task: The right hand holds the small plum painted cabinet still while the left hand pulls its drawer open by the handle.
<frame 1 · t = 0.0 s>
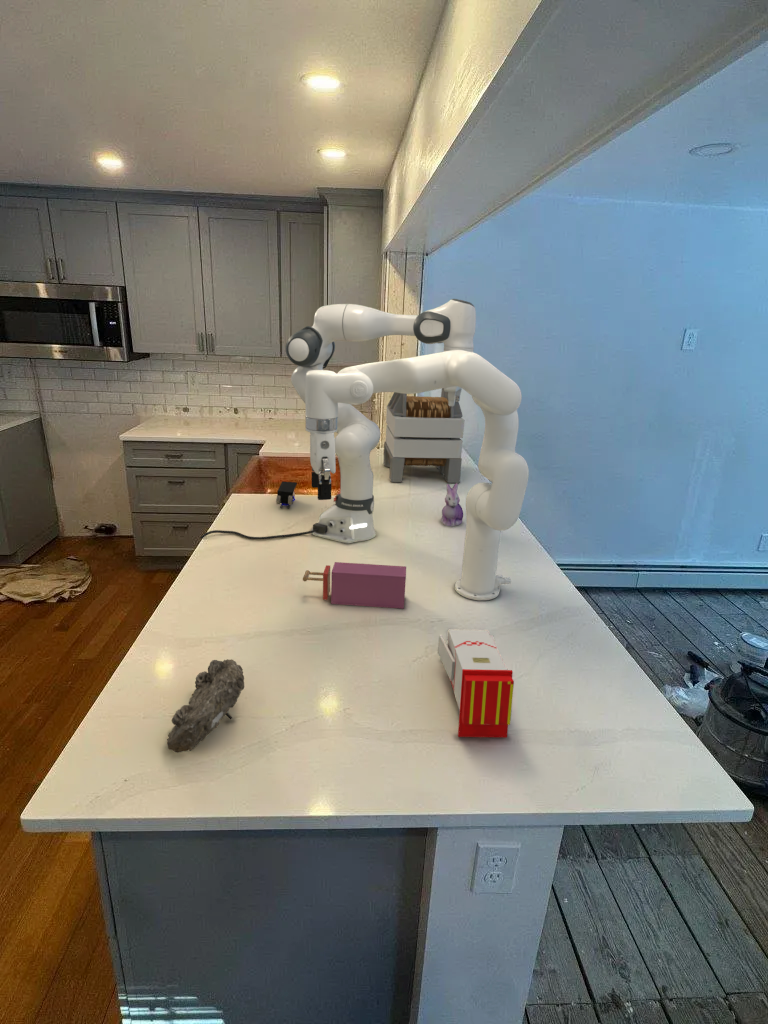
left hand: (454, 403, 174), 48 cm above the counter, tool pointing down, fingers open, 8 cm apart
right hand: (321, 493, 140), 31 cm above the counter, tool pointing down, fingers open, 9 cm apart
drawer: (348, 583, 152), point 5 cm above the counter, slide at 1.1 cm
cabinet: (368, 600, 154), on the counter
transformer: (419, 473, 275), on the counter
figurine: (451, 522, 213), on the counter
toy: (469, 691, 119), on the counter
figurine character: (286, 504, 224), on the counter
fossil: (212, 717, 108), on the counter
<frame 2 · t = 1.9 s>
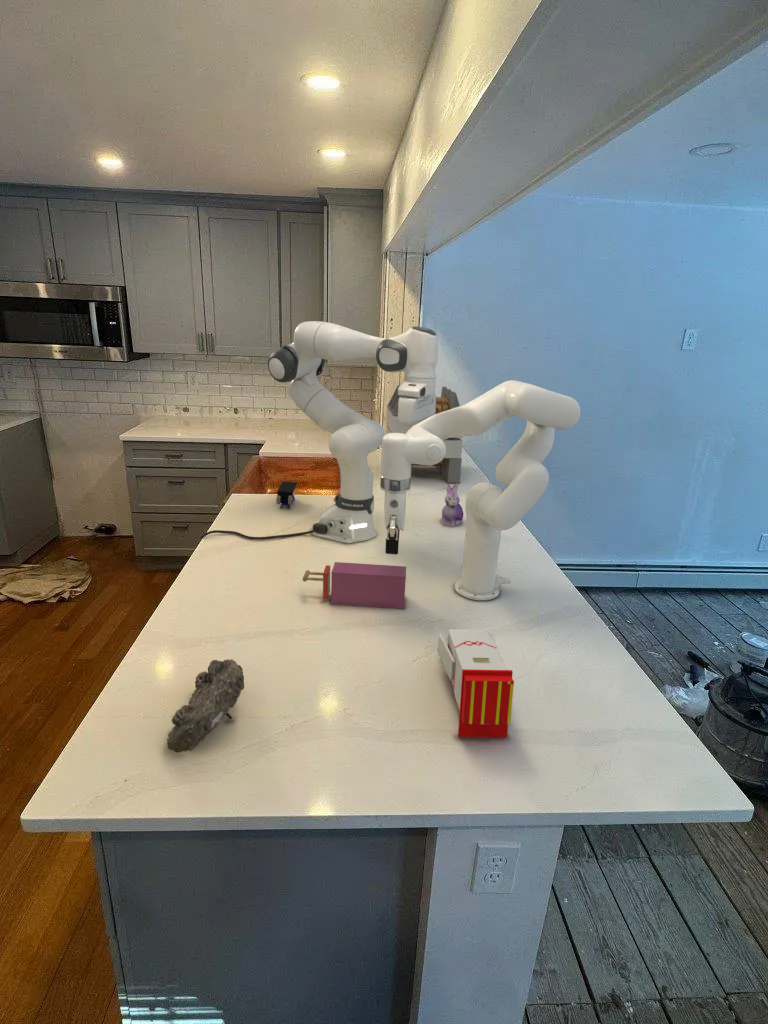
left hand: (416, 435, 166), 40 cm above the counter, tool pointing down, fingers open, 8 cm apart
right hand: (392, 545, 148), 17 cm above the counter, tool pointing down, fingers open, 9 cm apart
nothing on the counter moved.
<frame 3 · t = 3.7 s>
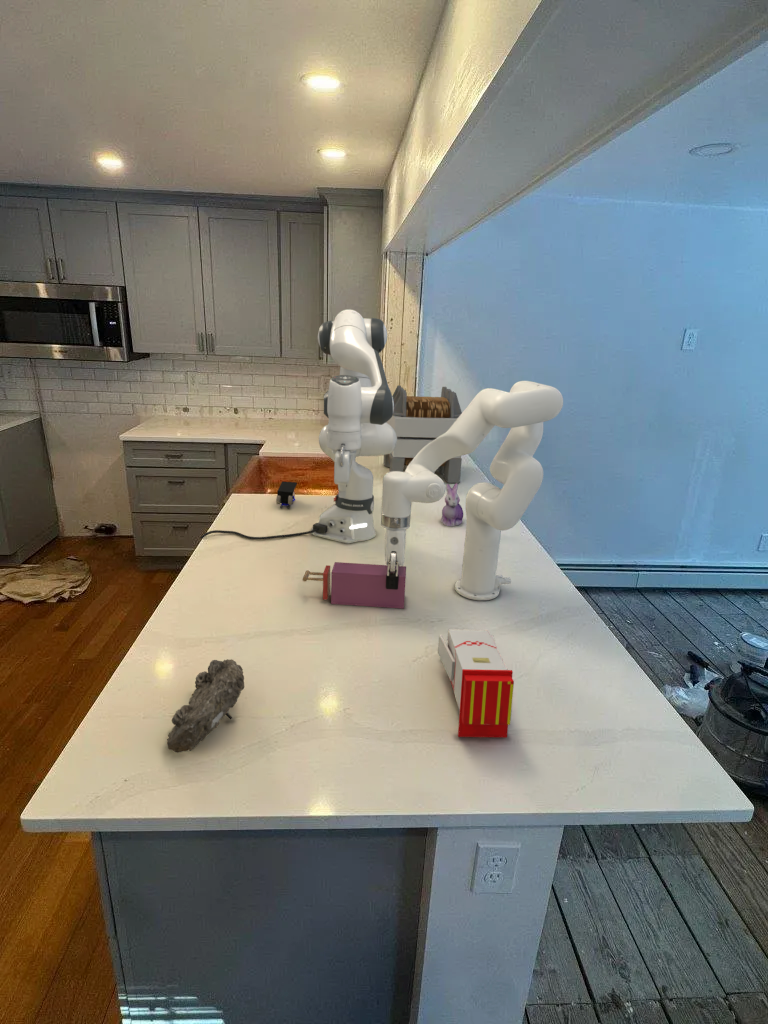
left hand: (343, 491, 151), 28 cm above the counter, tool pointing down, fingers open, 8 cm apart
right hand: (392, 582, 151), 6 cm above the counter, tool pointing down, fingers closed on cabinet, 6 cm apart
cabinet: (368, 600, 154), on the counter, touching right hand
everything else where it was.
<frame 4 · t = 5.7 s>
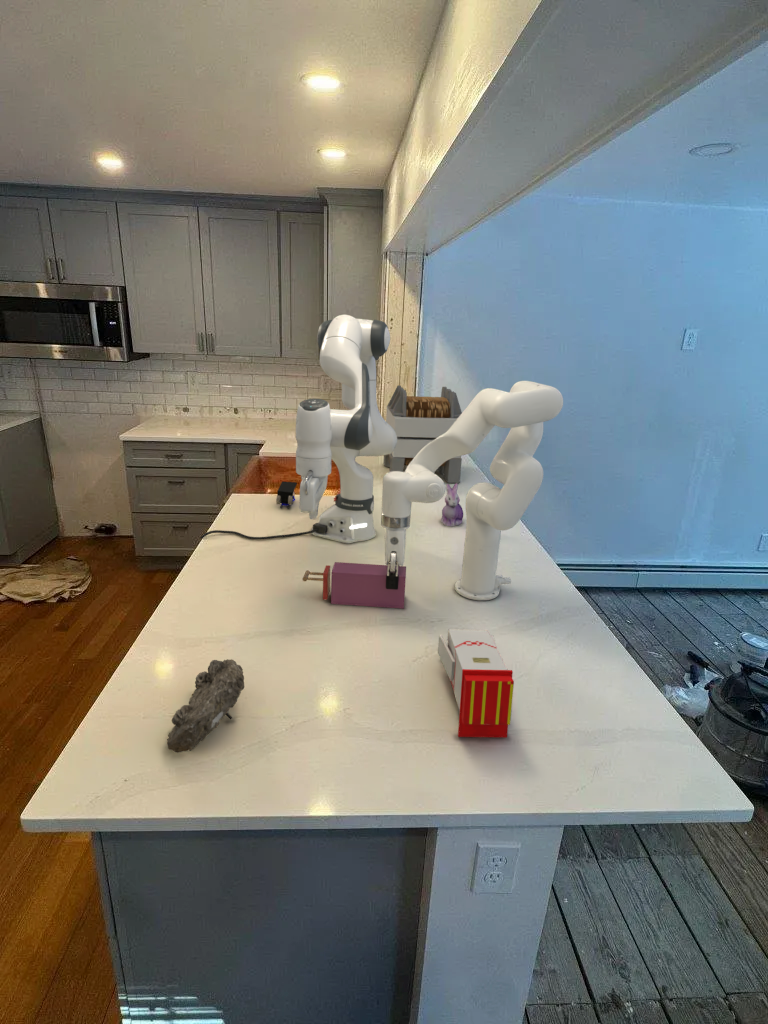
left hand: (313, 517, 146), 23 cm above the counter, tool pointing down, fingers closed
right hand: (392, 582, 151), 6 cm above the counter, tool pointing down, fingers closed on cabinet, 6 cm apart
cabinet: (368, 600, 154), on the counter, touching right hand
everything else where it was.
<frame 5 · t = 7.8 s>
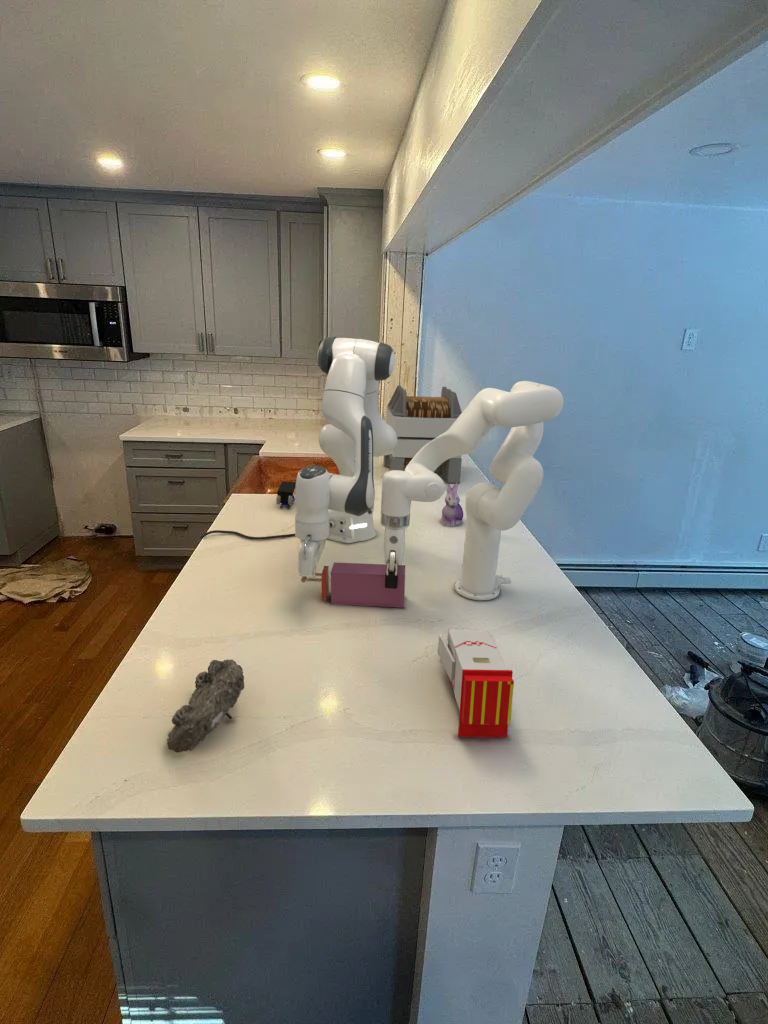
left hand: (312, 577, 151), 6 cm above the counter, tool pointing down, fingers closed, pressing on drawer
right hand: (391, 581, 151), 6 cm above the counter, tool pointing down, fingers closed on cabinet, 6 cm apart
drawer: (346, 583, 152), point 5 cm above the counter, slide at 1.4 cm, touching left hand
cabinet: (368, 600, 153), on the counter, touching right hand
everything else where it was.
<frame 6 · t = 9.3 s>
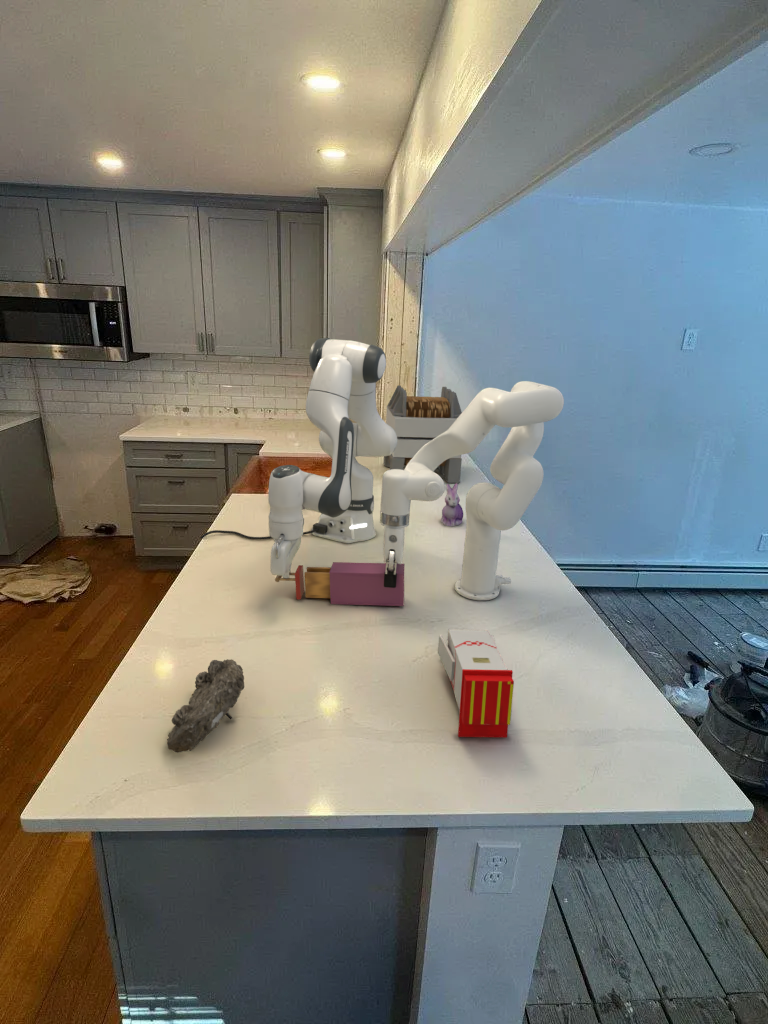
left hand: (286, 576, 152), 6 cm above the counter, tool pointing down, fingers closed
right hand: (390, 580, 151), 7 cm above the counter, tool pointing down, fingers closed on cabinet, 6 cm apart
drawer: (321, 582, 152), point 5 cm above the counter, slide at 8.1 cm, touching left hand
cabinet: (368, 599, 153), on the counter, touching right hand
everything else where it was.
when the right hand's fingers open (6 cm above the counter, at t = 10.6 s): cabinet stays where it is, on the counter.
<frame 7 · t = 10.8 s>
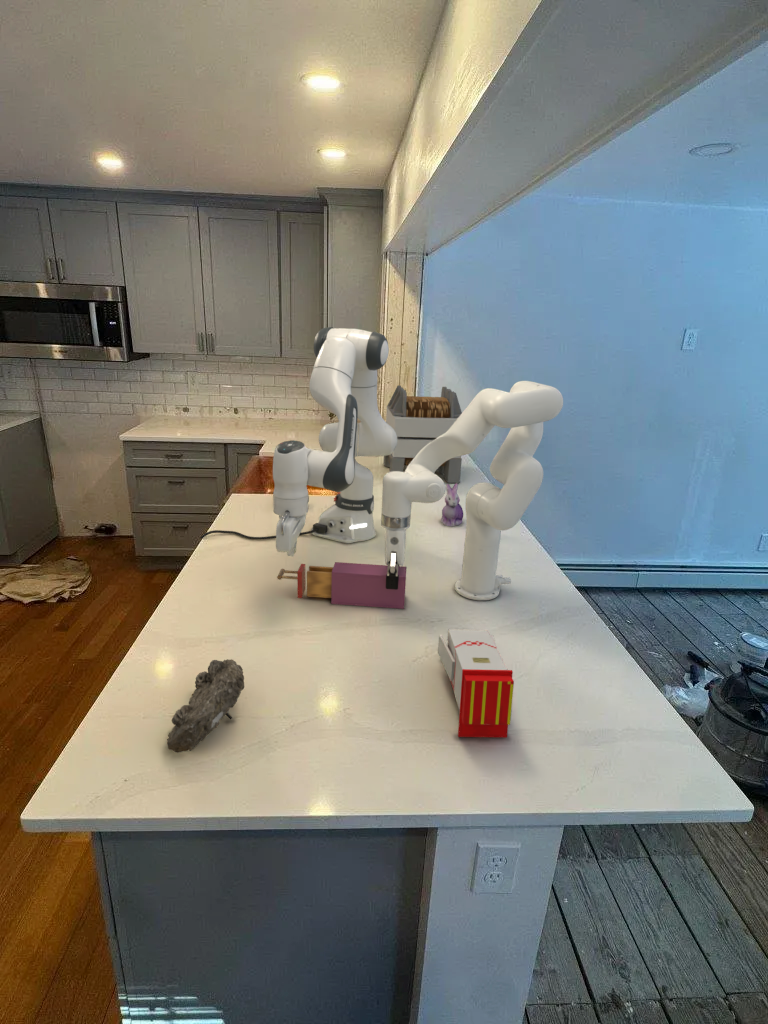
left hand: (291, 554, 150), 12 cm above the counter, tool pointing down, fingers closed
right hand: (392, 581, 151), 6 cm above the counter, tool pointing down, fingers open, 7 cm apart
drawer: (323, 582, 152), point 5 cm above the counter, slide at 8.0 cm
cabinet: (368, 600, 153), on the counter
everything else where it was.
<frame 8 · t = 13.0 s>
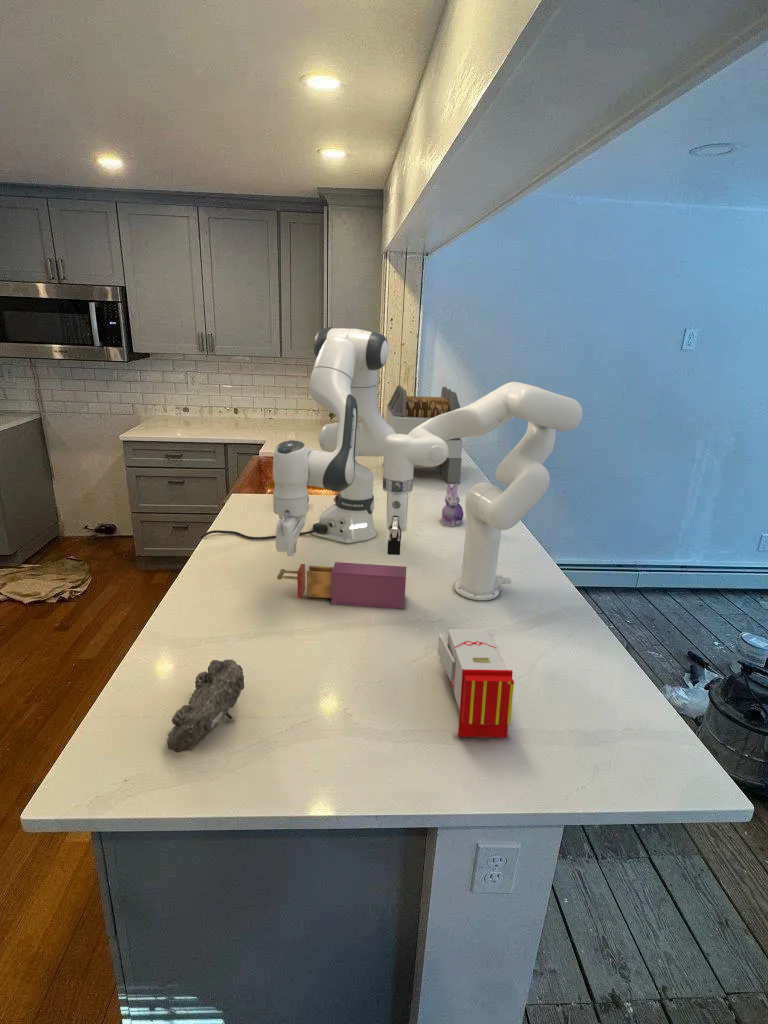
left hand: (291, 554, 150), 12 cm above the counter, tool pointing down, fingers closed
right hand: (394, 546, 148), 16 cm above the counter, tool pointing down, fingers open, 9 cm apart
nothing on the counter moved.
at the end: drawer slide at 8.0 cm; cabinet tilted 0°; cabinet never tilted more than 3° during the clip; cabinet moved 0.1 cm from its start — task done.
